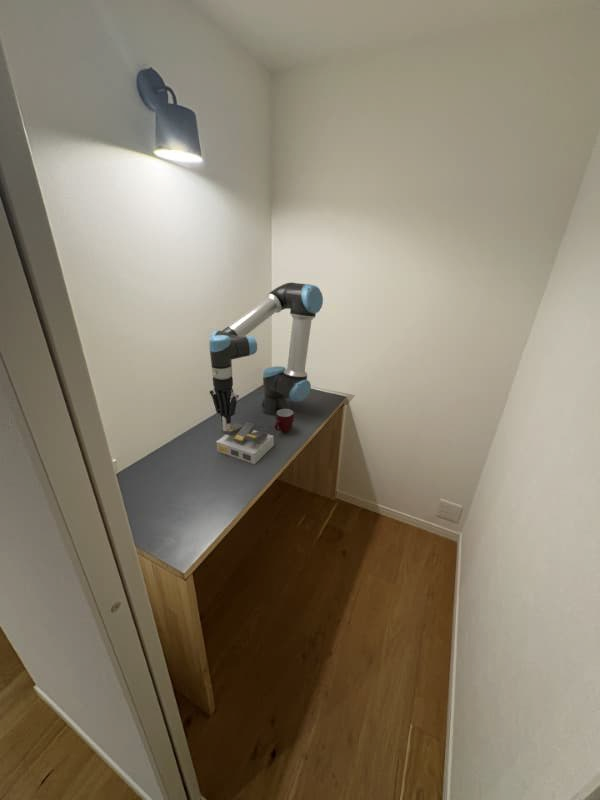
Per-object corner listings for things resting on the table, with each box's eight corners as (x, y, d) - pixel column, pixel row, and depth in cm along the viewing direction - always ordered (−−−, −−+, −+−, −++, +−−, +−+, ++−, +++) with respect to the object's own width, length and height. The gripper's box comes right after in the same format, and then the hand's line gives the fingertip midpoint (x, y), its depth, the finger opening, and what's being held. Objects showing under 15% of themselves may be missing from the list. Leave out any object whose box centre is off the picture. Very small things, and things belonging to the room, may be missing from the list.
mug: (284, 440, 142) (284, 421, 138) (270, 435, 146) (269, 416, 142) (296, 429, 150) (296, 411, 146) (282, 425, 154) (282, 407, 150)
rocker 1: (236, 426, 141) (236, 422, 140) (244, 428, 139) (244, 424, 138) (221, 433, 132) (221, 429, 131) (229, 435, 130) (230, 431, 130)
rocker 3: (258, 434, 136) (259, 430, 135) (267, 437, 134) (267, 432, 134) (244, 439, 127) (245, 434, 126) (254, 442, 125) (254, 437, 125)
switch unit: (238, 434, 146) (237, 421, 143) (273, 445, 138) (273, 432, 135) (217, 451, 134) (215, 438, 131) (253, 464, 126) (252, 450, 123)
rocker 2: (247, 424, 137) (246, 421, 136) (255, 426, 135) (254, 423, 134) (234, 441, 131) (233, 438, 130) (243, 443, 129) (241, 441, 128)
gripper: (202, 376, 121) (208, 429, 131) (229, 382, 116) (233, 437, 125) (215, 370, 127) (220, 422, 137) (242, 376, 122) (245, 429, 131)
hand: (226, 429), depth 131 cm, fingers closed
